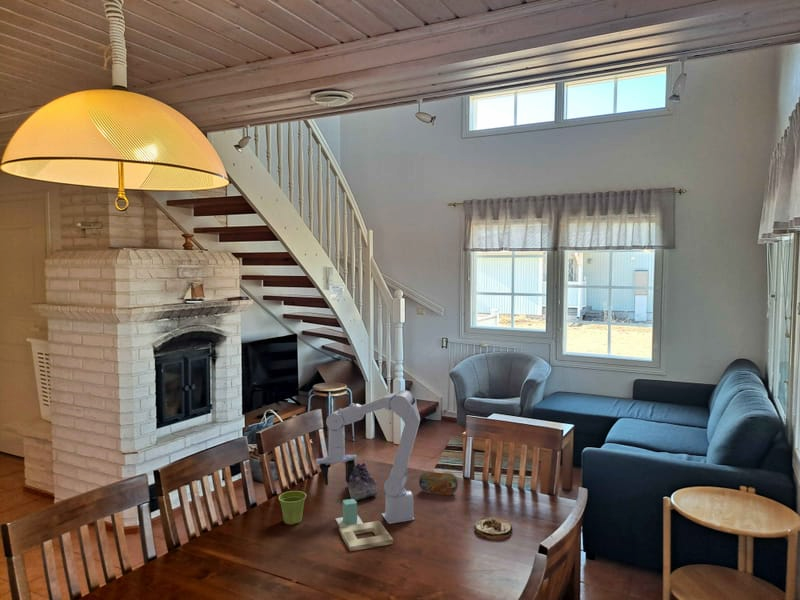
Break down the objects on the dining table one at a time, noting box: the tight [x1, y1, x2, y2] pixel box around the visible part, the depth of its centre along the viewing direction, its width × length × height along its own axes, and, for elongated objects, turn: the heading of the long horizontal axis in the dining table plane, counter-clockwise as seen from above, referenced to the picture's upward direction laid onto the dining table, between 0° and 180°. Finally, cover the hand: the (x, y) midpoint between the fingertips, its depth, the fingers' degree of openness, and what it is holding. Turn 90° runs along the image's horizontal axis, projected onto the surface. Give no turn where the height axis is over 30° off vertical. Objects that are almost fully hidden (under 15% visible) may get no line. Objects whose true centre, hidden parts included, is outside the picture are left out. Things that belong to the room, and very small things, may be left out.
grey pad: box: [335, 514, 364, 528], centre depth 190 cm, size 8×8×1 cm
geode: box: [346, 462, 378, 502], centre depth 218 cm, size 20×12×10 cm, turn 14°
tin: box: [418, 470, 459, 496], centre depth 216 cm, size 15×3×8 cm, turn 73°
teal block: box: [342, 498, 358, 525], centre depth 190 cm, size 4×4×7 cm
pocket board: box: [338, 520, 394, 552], centre depth 180 cm, size 14×14×1 cm
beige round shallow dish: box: [473, 517, 513, 540], centre depth 184 cm, size 15×15×4 cm
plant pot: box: [278, 490, 307, 525], centre depth 191 cm, size 9×9×9 cm
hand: (336, 483), depth 198 cm, fingers open, 7 cm apart
